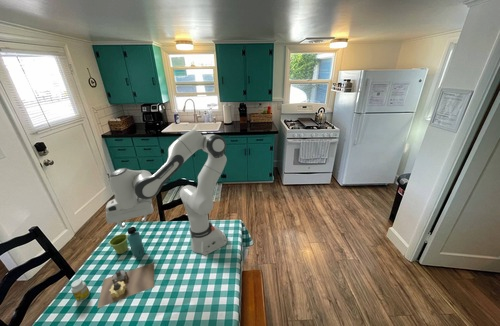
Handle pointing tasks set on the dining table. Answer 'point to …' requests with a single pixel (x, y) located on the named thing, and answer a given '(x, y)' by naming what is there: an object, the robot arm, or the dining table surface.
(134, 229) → the beverage bottle
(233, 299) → the dining table surface
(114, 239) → the plant pot
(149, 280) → the gear board
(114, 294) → the loose gear
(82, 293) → the supplement bottle
